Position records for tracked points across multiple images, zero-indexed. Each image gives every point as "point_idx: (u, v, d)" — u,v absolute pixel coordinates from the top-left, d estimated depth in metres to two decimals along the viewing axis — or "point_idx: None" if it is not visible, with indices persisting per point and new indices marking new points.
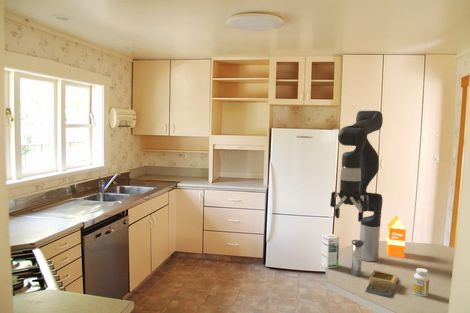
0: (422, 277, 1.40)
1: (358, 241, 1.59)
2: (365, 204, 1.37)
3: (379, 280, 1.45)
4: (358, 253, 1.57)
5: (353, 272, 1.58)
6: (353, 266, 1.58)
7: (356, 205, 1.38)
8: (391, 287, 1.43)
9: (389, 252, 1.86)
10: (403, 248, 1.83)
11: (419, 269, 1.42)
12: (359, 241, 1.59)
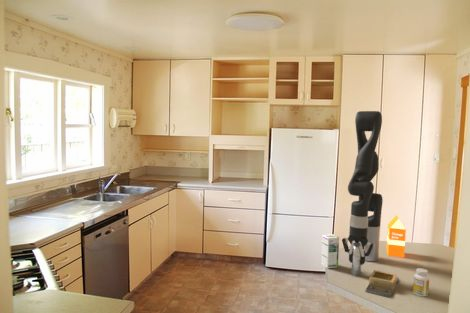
0: (422, 277, 1.40)
1: None
2: (369, 250, 1.55)
3: (379, 280, 1.45)
4: (358, 253, 1.57)
5: (353, 272, 1.58)
6: (353, 266, 1.58)
7: (361, 250, 1.56)
8: (391, 287, 1.43)
9: (389, 252, 1.86)
10: (403, 248, 1.83)
11: (419, 269, 1.42)
12: None
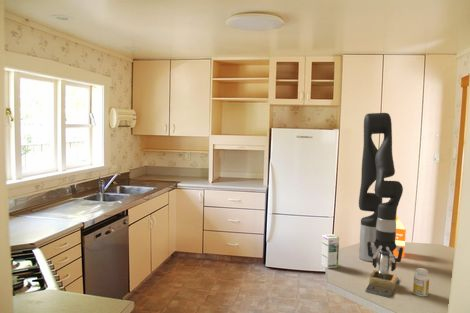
0: (422, 277, 1.40)
1: None
2: (399, 255, 1.44)
3: (379, 280, 1.45)
4: (385, 263, 1.46)
5: None
6: (380, 276, 1.48)
7: (390, 255, 1.45)
8: (391, 287, 1.43)
9: None
10: None
11: (419, 269, 1.42)
12: None
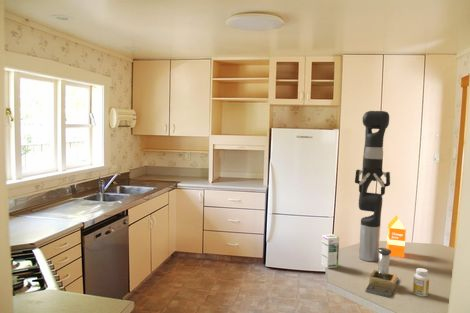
0: (422, 277, 1.40)
1: (385, 249, 1.48)
2: (387, 179, 1.52)
3: (379, 280, 1.45)
4: (385, 263, 1.46)
5: None
6: (380, 276, 1.48)
7: (379, 181, 1.54)
8: (391, 287, 1.43)
9: None
10: (403, 248, 1.83)
11: (419, 269, 1.42)
12: (386, 249, 1.48)
